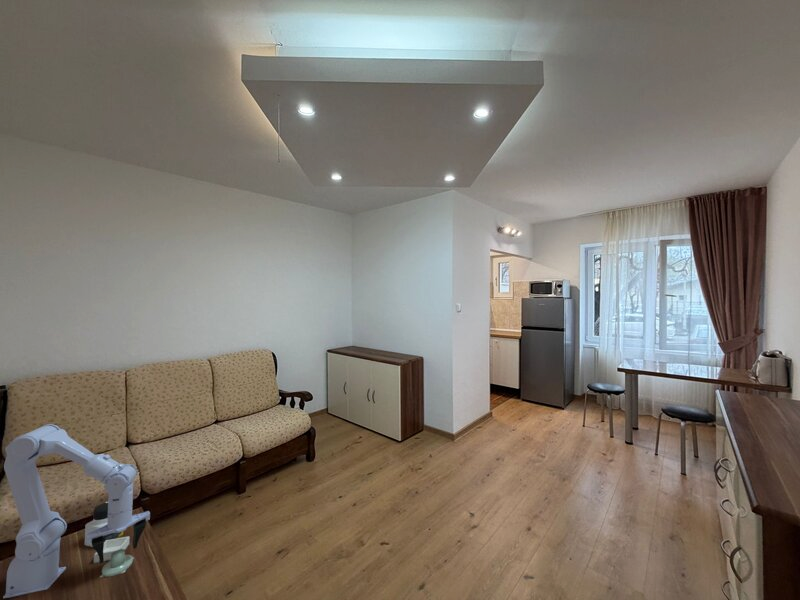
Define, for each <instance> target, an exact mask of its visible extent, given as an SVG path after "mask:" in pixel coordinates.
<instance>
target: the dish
mask: <svg viewBox="0 0 800 600" xmlns="http://www.w3.org/2000/svg"><path fill="white" fill-rule="evenodd" d="M129 546H130V536H123V537H122V536H121V537H118V538H116V539H111V540H106V541H105V542H104V548H103V558H104V560H103V563H104V562H109V561H110V560H111V555H112V553H114V552H115V551H117V550H120V549H125V551H126V549H127V548H128V547H129ZM93 564H100V561H99V556H98V554H97V552H96V551H95V553H94V554H93Z"/></svg>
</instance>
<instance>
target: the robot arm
mask: <svg viewBox="0 0 800 600" xmlns="http://www.w3.org/2000/svg"><path fill="white" fill-rule="evenodd" d="M4 449H5V453H6V457H5V461H4V464H3V468H4V469H3V470H4V472H5V476H6V479H7V482H8V485H9V488H10V491H11V494H12V497H13V500H14V504H15V507H16V510H17V513H18V515H19V519H20V522H21V527H20V529H19V531H18V533H17V534H16V536H15V542H16V545H15V550H14V554H15V557H14V558H13V559H12V560H11V562H10V564H9V565H8V569H7V572H6V582H5V583H6V584H5V594H4V595H3V596H2V598H3V599H7V598H8V599H9V598H13V597H19V596H22V595H25V594H31V593H35V592H41V591H45V590H48V589H49V588H50V587H51V586H52V585H53V583H54V582H55V581H56V580H57V579H58V578H59V577H60V576H61V574H62V573H64V571H65V570H66V569H67V566H61V567H60V566H59V565H60V564H59V563H60V546H61V541H62V540H61V538H62V537H61V536H62V535H64V533H66V531H67V527H68V524H67V522H66V520H64V518H62V517H61V515H60V513H59V512H58V511H52V510H51V509H50V508H51V507H50V505H49V501H48V498H47V495H46V493H45V489H44V486H43V483H42V481H41V477H40V474H39V470H38V468H37V464H36V461H37V460H38V459H39V457H42V456H47V455H52V454H54V455H55V454H57V455H58V456H61V457H64V458H65V459H68V460H70V461H72V462H74V463H76V464H78V465H80V466H82V467H83V468H82V470H83V473H84V474H86V475H87V476H90V477H91V478H93V479H95V480H97V481H99V482H100V483H102V484H104V485H103V488H104V490H105V491H106V492H107V494H108V498H107V502H108V519H107V525H105V526H103V527H101V528H99V529H97V530H95V531H93V532H91V533H88V534H86V543H87V544H88V543H91V542H92V546H93V547H92V548H93V549H94V550H95V553H96V552H97V554H98V556H99V561H100V562H99V564H103V563H104V562H103V560H104V558H103V548H104V541H103V536H106V535H108V534H111V533H114V532H117V533H119V532H122V531H123V532H124V531H126V530H127V529H128V528H129V527H132V526H133V535H132V548H133V549H134V550H135V549H136V548H137V547H138V544H139V540H140V538H141V536H142V534H143V532H144V530H145V528H146V526H147V522H146V521H149V520H150V519H151V512H150V511H149V510H147V511H144V512H140V513H137V514H133V501H134V500H133V499H134V482H133V481H134V480H135V479H136V478H137V475H138V469H137V467H135V466H134V465H133V464H131V463H127V464H124V463H120V462H118V461H116V460H115V459H113V458H111V457H112V456H111V455H110V454H108V453H107V454H104V453H100V454H99V453H98V454H94V453H93V452H91V451H90V450H89V449H87V448H86V447H85V446H83V445H82V444H80V443H78V442H77V441H75V440H74V439H73V438H71V437H70V436H69V434H68V432H67V431H66V430H65V429H63V428H60V427H59V426H58V425H55V424H51V423H47V424H45V425H42V426H40V427H38V428H35V429H34V430H31V431H29V432H27V433H24V434H21V435H18V436H17V437H15V438H14V439H13V440H12V441H11V442H10V443H8V444H7V445H6V447H5V448H4Z"/></svg>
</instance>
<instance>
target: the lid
mask: <svg viewBox="0 0 800 600" xmlns="http://www.w3.org/2000/svg"><path fill="white" fill-rule="evenodd" d="M133 557H134V556H133V555H131V554H126V550H125V549H120V550H117V551H115V552H114V553H112V555H111V560H110V561H107V562H106V563H105V564H104V565H103V566H102V568H101V575H103V576H105V578H107V577H110V578H111V577H114V576H117V575H119V573H120V574H122V573H121V572H123V571H125V570H126V571H127V569H129V568H130V567H131V566H132V564H133V560H134V559H133ZM126 571H125V572H126Z"/></svg>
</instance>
